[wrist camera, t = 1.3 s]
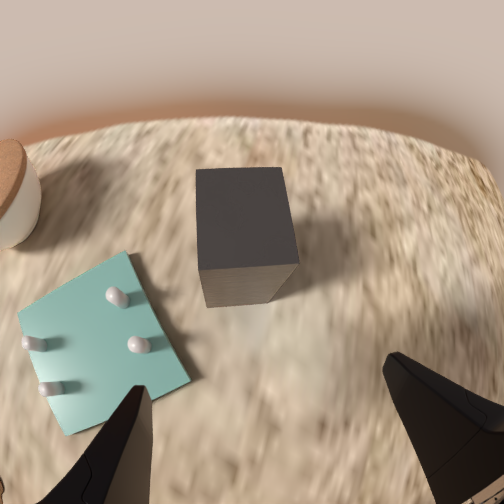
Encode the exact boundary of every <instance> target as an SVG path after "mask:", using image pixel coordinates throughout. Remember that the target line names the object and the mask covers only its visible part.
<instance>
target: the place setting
mask: <svg viewBox="0 0 504 504" xmlns="http://www.w3.org/2000/svg"><path fill="white" fill-rule="evenodd" d="M2 493H3V485H2V483H1V480H0V504H3V502H2V497H1V495H2Z"/></svg>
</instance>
